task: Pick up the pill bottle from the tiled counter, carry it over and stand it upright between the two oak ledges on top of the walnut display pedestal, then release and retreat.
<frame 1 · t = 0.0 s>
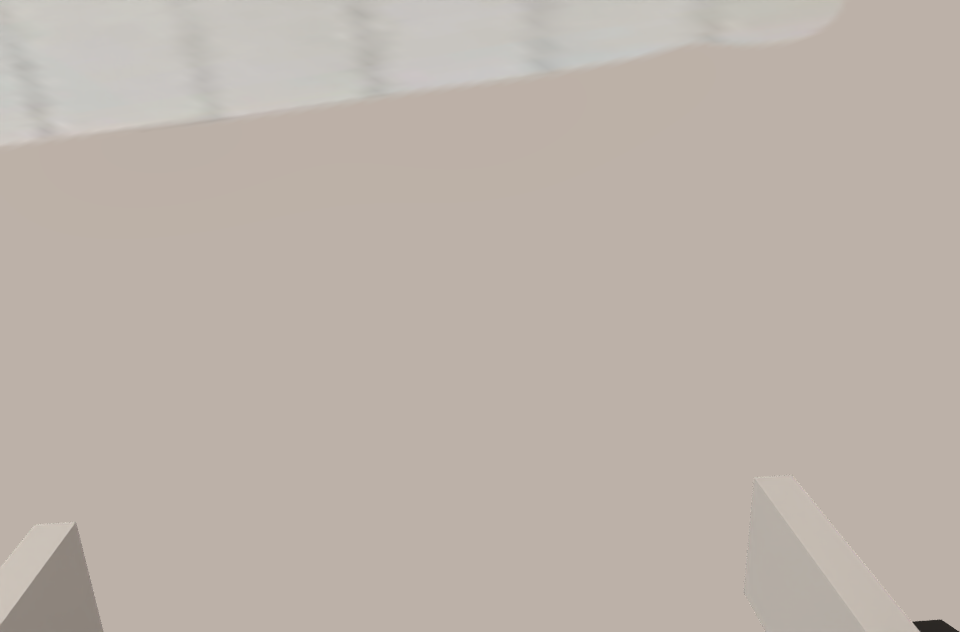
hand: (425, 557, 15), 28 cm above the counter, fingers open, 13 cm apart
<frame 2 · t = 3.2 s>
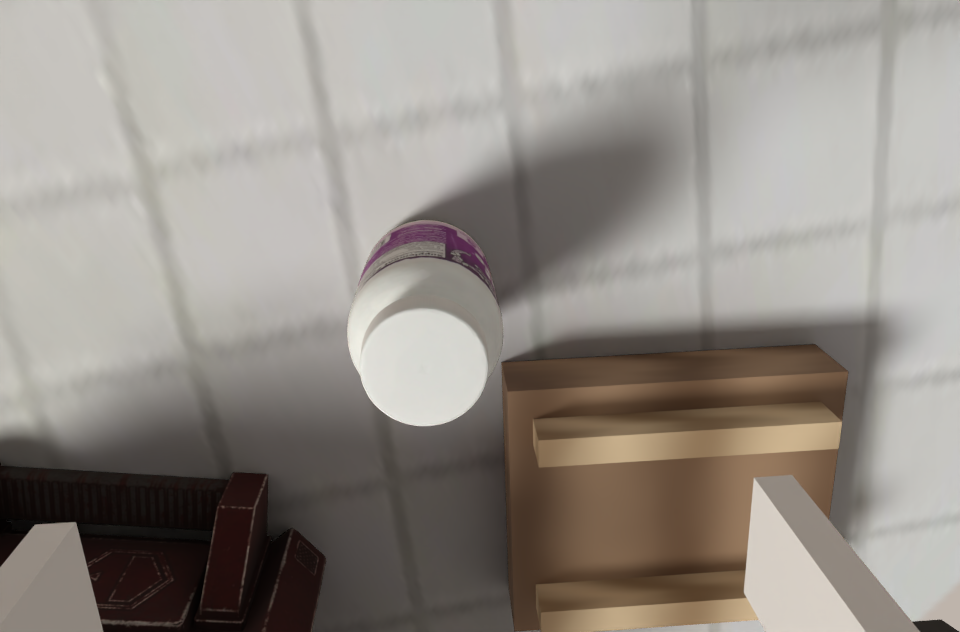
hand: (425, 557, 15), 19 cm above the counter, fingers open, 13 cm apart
display pedestal: (654, 471, 37), on the counter
pill bottle: (427, 277, 33), on the counter
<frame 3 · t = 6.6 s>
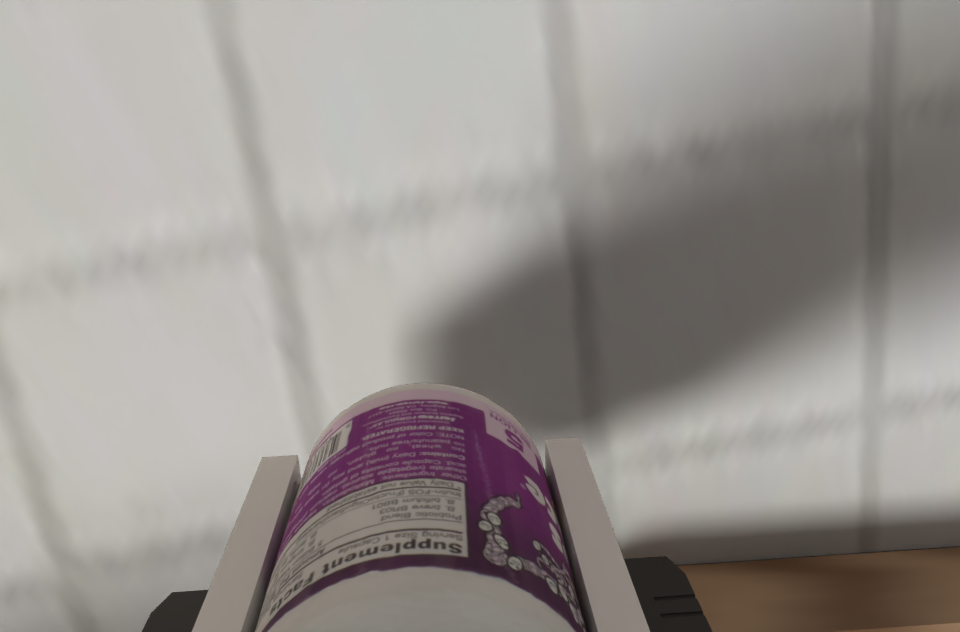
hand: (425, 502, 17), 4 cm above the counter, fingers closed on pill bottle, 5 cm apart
pill bottle: (425, 477, 18), point 3 cm above the counter, touching gripper
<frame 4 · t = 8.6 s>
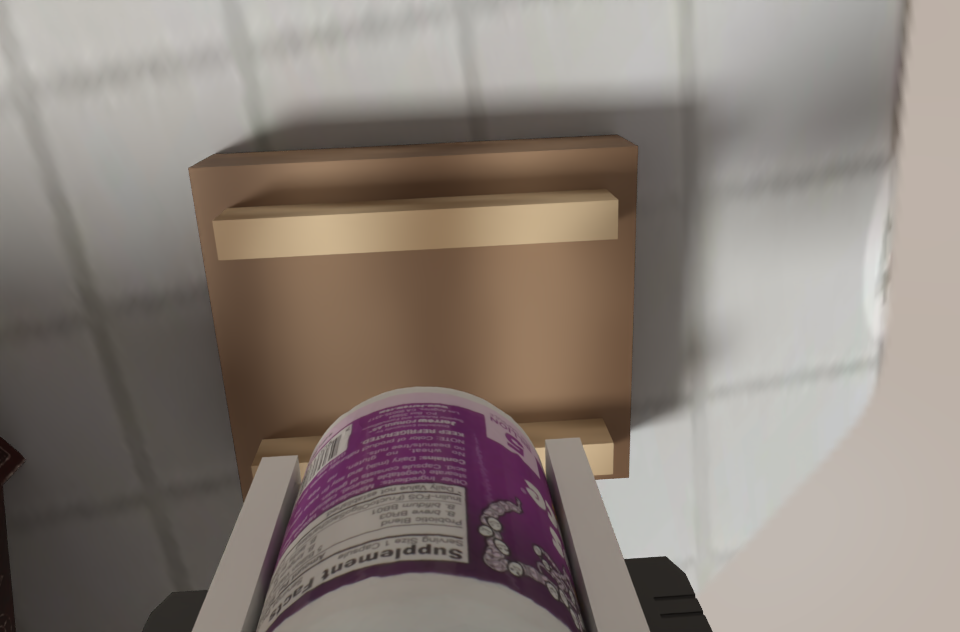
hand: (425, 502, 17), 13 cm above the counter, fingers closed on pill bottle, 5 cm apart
display pedestal: (428, 307, 29), on the counter
pill bottle: (426, 480, 18), point 12 cm above the counter, touching gripper
when the fingers open (4 cm above the counter, at t = 10.8 s): pill bottle stays where it is, resting on display pedestal.
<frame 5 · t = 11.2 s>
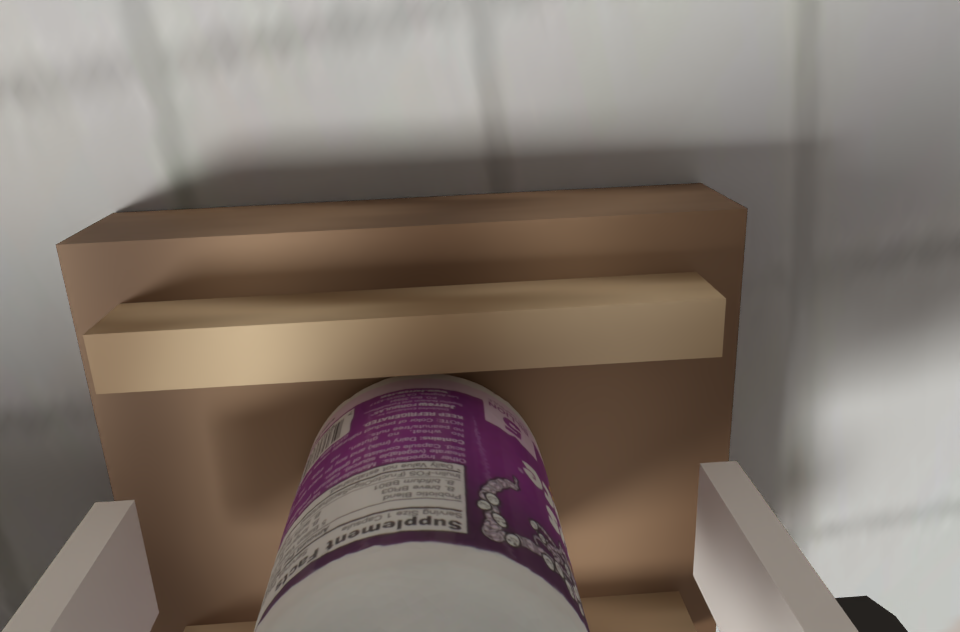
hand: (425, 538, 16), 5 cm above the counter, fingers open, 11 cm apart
display pedestal: (427, 422, 21), on the counter
pill bottle: (426, 466, 18), point 3 cm above the counter, touching display pedestal
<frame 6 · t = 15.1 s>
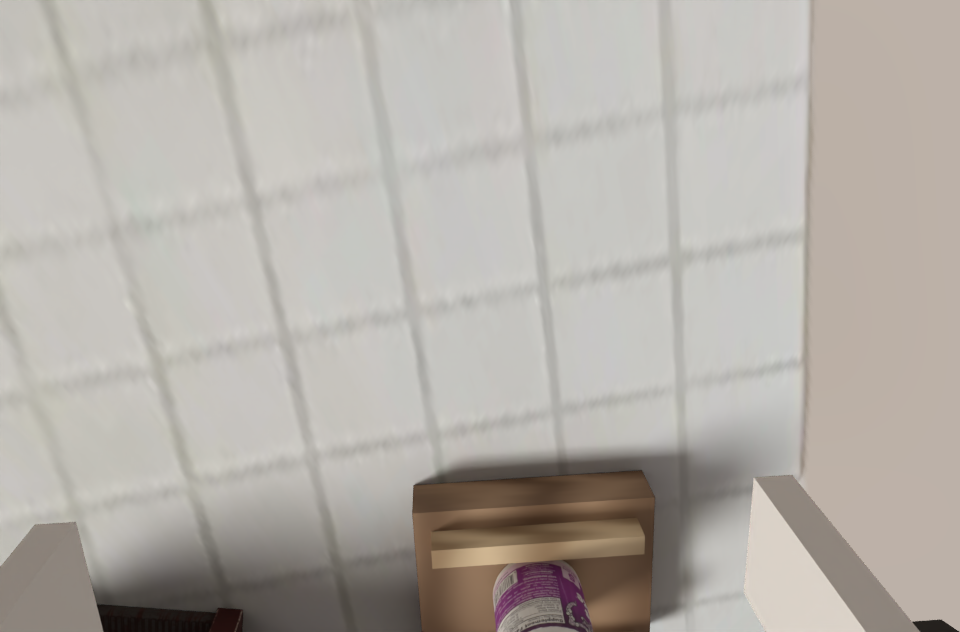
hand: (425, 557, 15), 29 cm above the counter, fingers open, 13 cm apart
display pedestal: (530, 560, 50), on the counter
pill bottle: (535, 584, 47), point 3 cm above the counter, touching display pedestal
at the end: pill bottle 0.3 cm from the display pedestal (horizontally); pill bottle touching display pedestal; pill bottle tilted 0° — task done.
